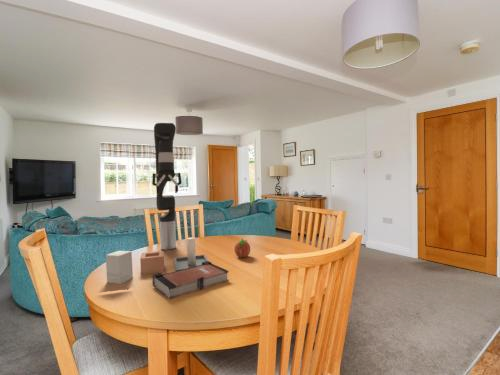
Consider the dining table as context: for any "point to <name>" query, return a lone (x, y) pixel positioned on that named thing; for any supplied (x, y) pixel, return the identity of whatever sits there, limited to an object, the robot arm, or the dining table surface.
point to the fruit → (242, 248)
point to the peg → (191, 252)
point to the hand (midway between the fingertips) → (167, 193)
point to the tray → (182, 263)
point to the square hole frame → (152, 262)
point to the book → (189, 279)
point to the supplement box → (119, 266)
